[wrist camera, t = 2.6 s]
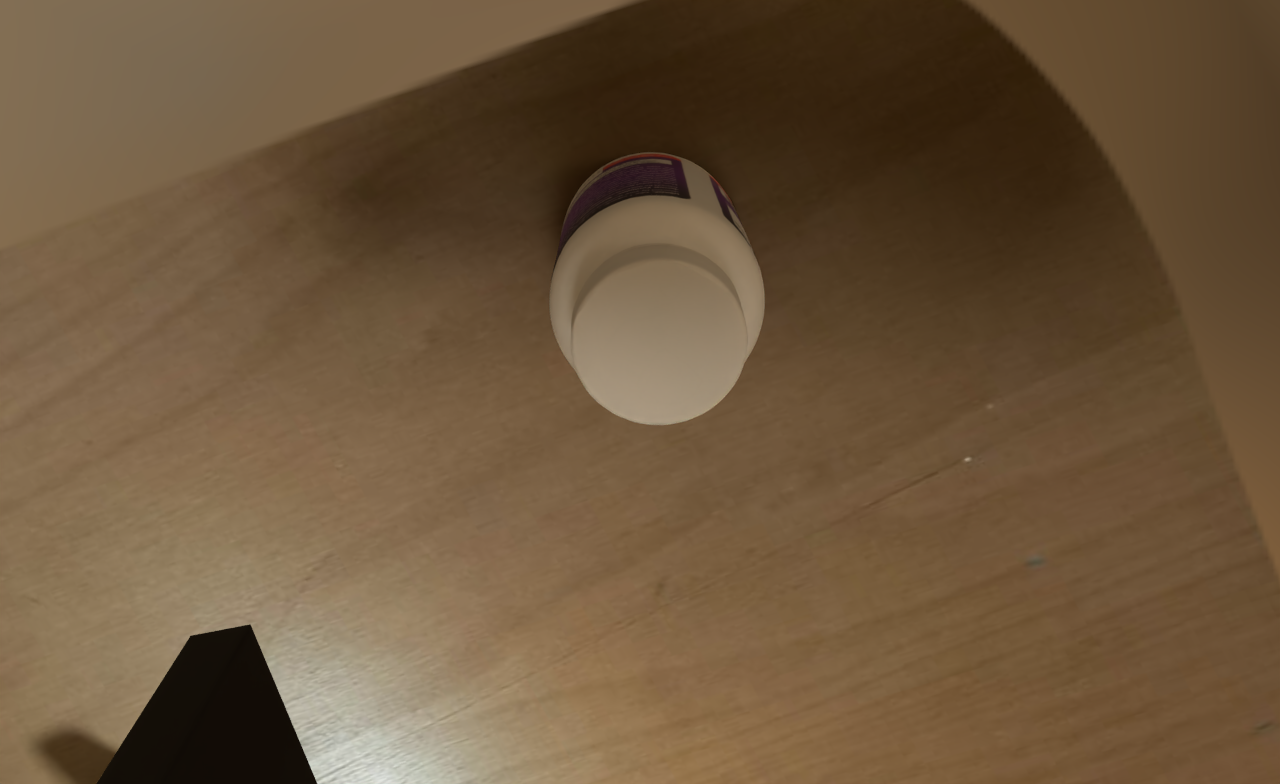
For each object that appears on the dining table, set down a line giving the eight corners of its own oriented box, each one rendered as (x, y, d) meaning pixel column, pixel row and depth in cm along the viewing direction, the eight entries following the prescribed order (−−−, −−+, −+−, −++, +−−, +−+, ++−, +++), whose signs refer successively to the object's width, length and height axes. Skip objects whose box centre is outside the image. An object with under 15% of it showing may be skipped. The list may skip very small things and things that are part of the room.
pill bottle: (535, 278, 33) (500, 398, 24) (608, 118, 31) (599, 183, 22) (690, 348, 34) (712, 488, 25) (770, 196, 32) (825, 289, 23)
